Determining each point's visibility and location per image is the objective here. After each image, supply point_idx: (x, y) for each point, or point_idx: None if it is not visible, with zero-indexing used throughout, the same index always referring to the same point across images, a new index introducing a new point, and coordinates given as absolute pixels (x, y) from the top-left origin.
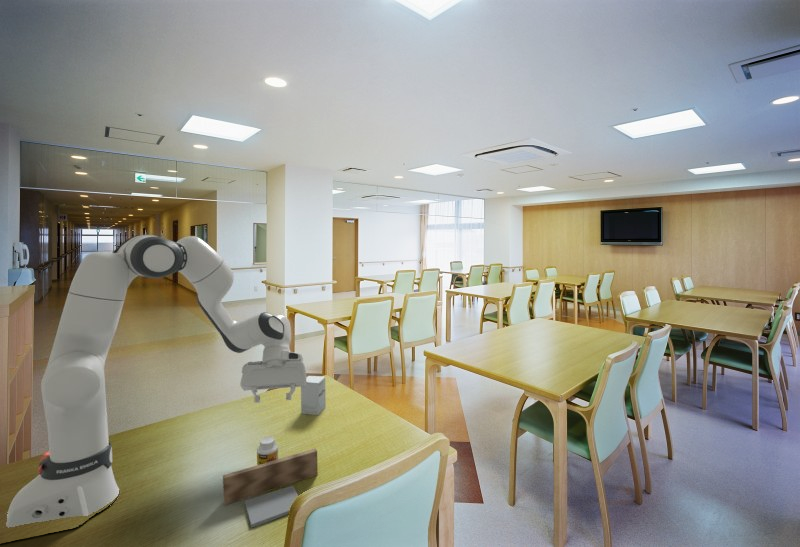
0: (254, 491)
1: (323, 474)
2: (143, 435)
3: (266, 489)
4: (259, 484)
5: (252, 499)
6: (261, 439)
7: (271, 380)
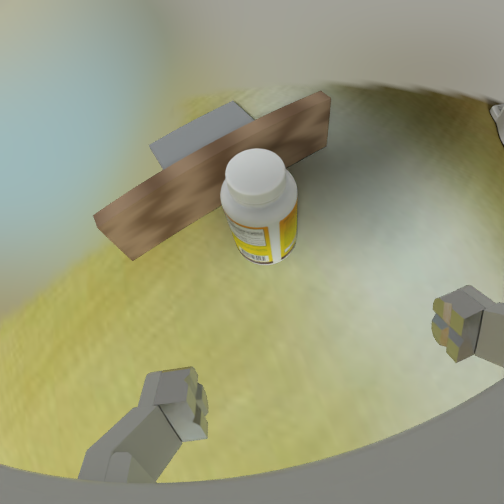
0: None
1: (114, 252)
2: None
3: None
4: None
5: None
6: (281, 170)
7: (448, 465)
